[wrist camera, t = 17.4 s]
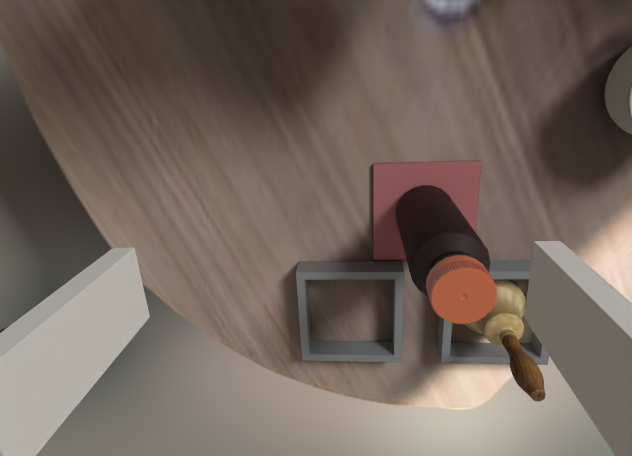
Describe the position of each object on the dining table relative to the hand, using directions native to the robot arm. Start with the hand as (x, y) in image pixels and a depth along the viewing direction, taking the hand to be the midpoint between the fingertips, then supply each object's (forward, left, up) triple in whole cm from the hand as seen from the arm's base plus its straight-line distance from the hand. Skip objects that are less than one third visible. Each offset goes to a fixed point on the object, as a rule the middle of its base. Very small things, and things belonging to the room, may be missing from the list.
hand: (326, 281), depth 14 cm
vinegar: (+10, +9, -36) cm, 39 cm away
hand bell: (+23, +18, -37) cm, 47 cm away
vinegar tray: (+23, 0, -37) cm, 43 cm away
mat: (+10, +9, -37) cm, 39 cm away
